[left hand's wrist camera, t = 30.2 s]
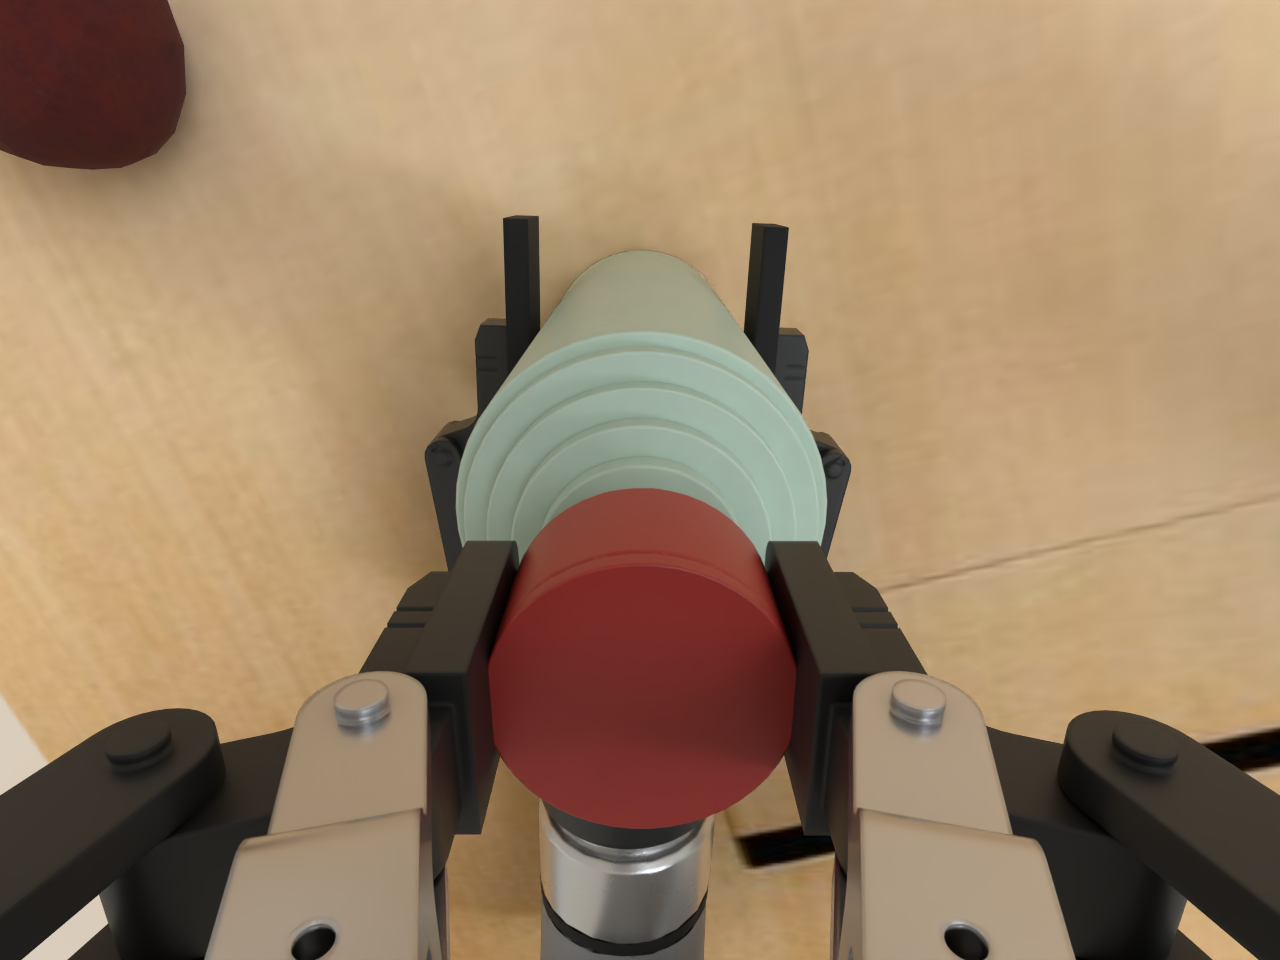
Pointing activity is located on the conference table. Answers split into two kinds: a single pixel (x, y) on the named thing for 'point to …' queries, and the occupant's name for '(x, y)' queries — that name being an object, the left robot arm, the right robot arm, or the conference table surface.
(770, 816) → the conference table surface
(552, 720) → the cap
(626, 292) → the bottle
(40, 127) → the potato
